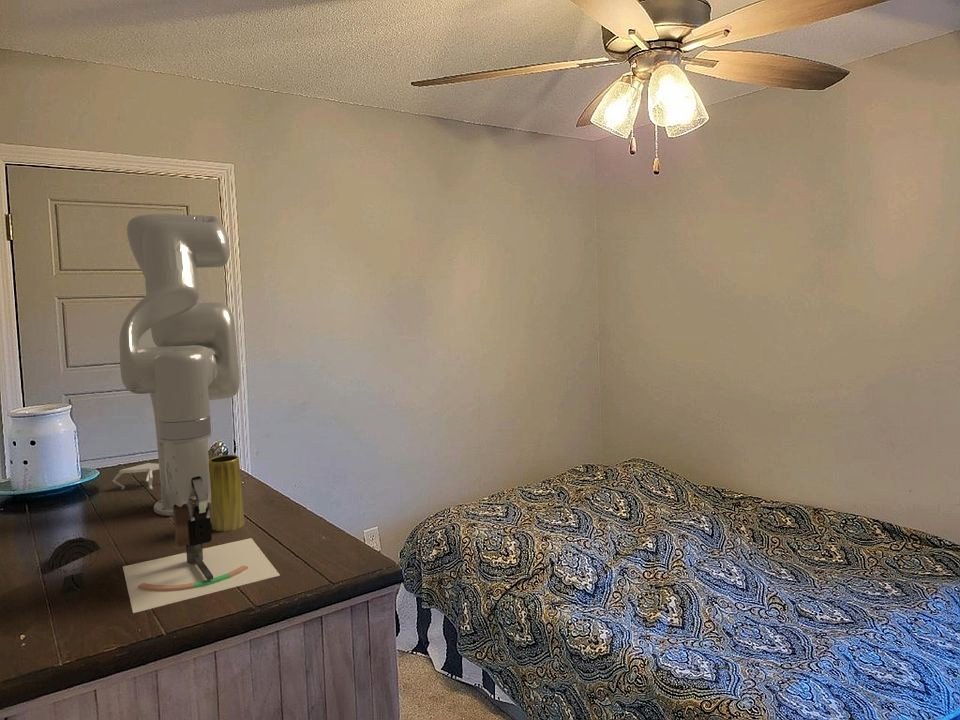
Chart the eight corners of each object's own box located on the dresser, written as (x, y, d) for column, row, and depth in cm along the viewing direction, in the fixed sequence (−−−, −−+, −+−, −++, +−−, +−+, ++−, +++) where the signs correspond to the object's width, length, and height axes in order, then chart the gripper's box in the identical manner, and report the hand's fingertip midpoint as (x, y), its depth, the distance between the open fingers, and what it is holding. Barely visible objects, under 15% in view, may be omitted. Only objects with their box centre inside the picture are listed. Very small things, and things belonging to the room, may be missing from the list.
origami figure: (165, 477, 158) (164, 458, 158) (176, 485, 152) (174, 464, 151) (110, 488, 151) (108, 467, 150) (118, 497, 144) (116, 475, 144)
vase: (209, 541, 117) (203, 464, 116) (213, 529, 123) (208, 455, 122) (245, 537, 119) (239, 461, 117) (247, 525, 125) (242, 452, 123)
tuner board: (123, 575, 104) (122, 564, 104) (251, 546, 115) (251, 535, 115) (134, 623, 89) (132, 610, 89) (280, 584, 100) (280, 572, 99)
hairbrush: (36, 605, 90) (46, 538, 111) (39, 630, 90) (48, 558, 111) (105, 590, 94) (102, 528, 115) (107, 614, 94) (104, 548, 116)
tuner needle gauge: (176, 561, 105) (172, 506, 103) (209, 553, 107) (205, 499, 106) (192, 587, 95) (187, 526, 94) (227, 577, 98) (223, 519, 97)
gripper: (148, 423, 107) (156, 524, 109) (171, 443, 93) (180, 558, 95) (196, 417, 112) (203, 514, 114) (225, 434, 98) (233, 545, 100)
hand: (193, 534), depth 104 cm, fingers open, 8 cm apart
